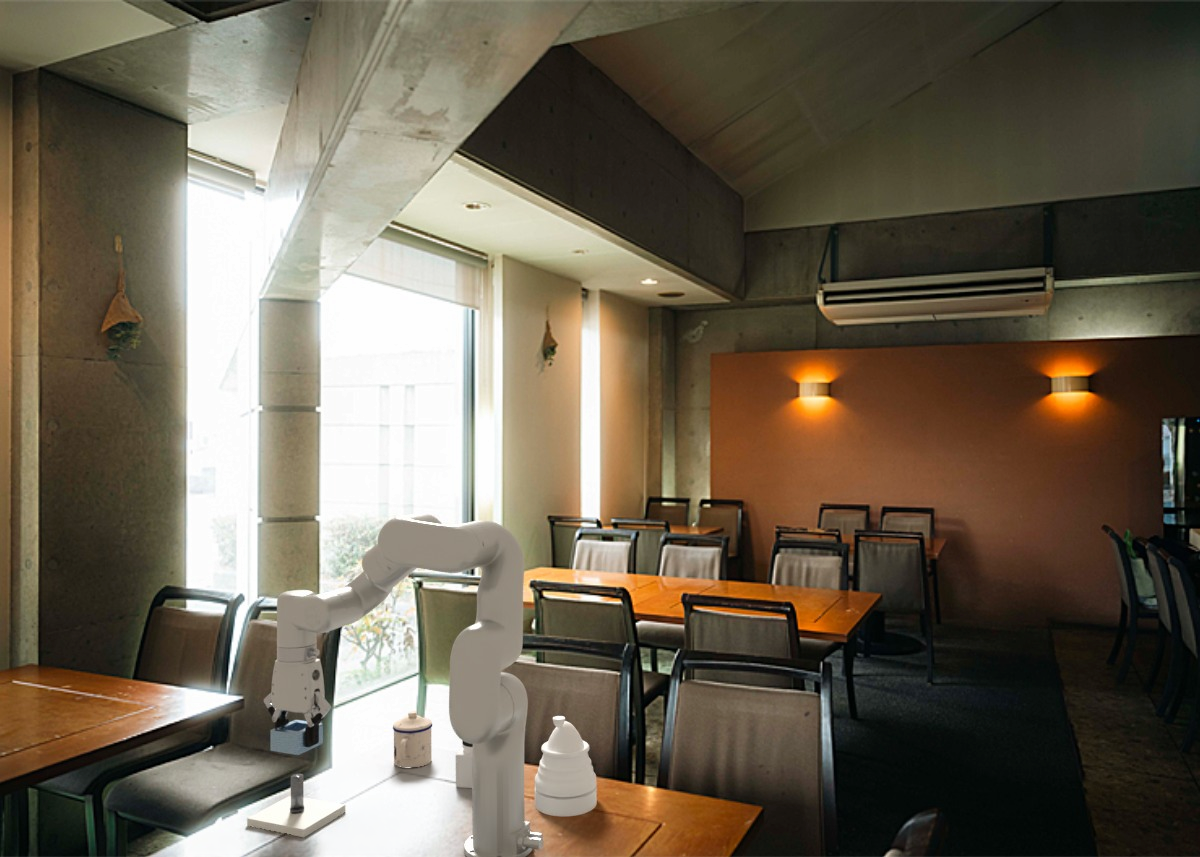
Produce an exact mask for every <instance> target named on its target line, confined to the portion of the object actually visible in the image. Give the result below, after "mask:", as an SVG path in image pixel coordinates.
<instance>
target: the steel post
mask: <svg viewBox="0 0 1200 857" xmlns="http://www.w3.org/2000/svg"><path fill="white" fill-rule="evenodd" d="M290 795H291V808H290V812H291V813H292V814H299V813H302V812H303V811H304V797H305V796H304V774H303V773H294V774H292V775H291V776H290Z"/></svg>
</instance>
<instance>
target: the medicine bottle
mask: <svg viewBox="0 0 1200 857" xmlns="http://www.w3.org/2000/svg"><path fill="white" fill-rule="evenodd" d="M461 743H462V746H461V747H462V748H461V749H460V750H459V751H458V752H457V753H456V754H455V787H456V788H463V789H472V748H473V744H470V743H466V742H464V741H463V740H462V741H461Z"/></svg>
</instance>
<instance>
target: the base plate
mask: <svg viewBox="0 0 1200 857" xmlns="http://www.w3.org/2000/svg"><path fill="white" fill-rule="evenodd" d="M290 808H291V794H290V795H288V796H286V797H284V798H282V799H281V800H278V801H277V802H275V803H273V804H271V805H269V806H268V807H265V808H264V809H262V810H260V811H258V812H256V813H255V814H253V815H250V816H249V817H246V821H247V822H246V826H247V827H250V826H253V827H252V828H255V827H256V829H260V828H262V829H261V830H264V829H266V831H269V830H271V832H274V831H277V832H276V833H279V832H281V833H280V834H284V833H287V834H286V835H289V834H291V835H290V836H295V837H301V838H305V837H307V836H309V835H310V834H312V833H314V832H315V831H317V830H319V829H320V828H322V827H323V826H325V825H327V824H329V823H330V822H333V819H334V820H336V819H337V818H338V816H339V817H340V816H342V815H344V814H345V813H346V804H343V803H336V802H332V801H326V800H322V799H315V798H309V797H305V796H304V811H303V812H302V813H299V814H292V813H291V812H290ZM344 812H345V813H344ZM343 813H344V814H343ZM341 814H342V815H341Z"/></svg>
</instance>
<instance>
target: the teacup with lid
mask: <svg viewBox="0 0 1200 857" xmlns="http://www.w3.org/2000/svg"><path fill="white" fill-rule="evenodd" d="M432 727H433V723H432V720H430V718H427V717H423V716H421V715H419V714H418V713H417V711H409V712H408V714H407V716H405V717H403V718H401V719H399V720H397V721H395V722H394V724H393V725H392V730H393V763H394V765H395V766H396V765H397V766H396V767H398V766H401V767H418V768H421V767H420V766H422V767H425V766H426V765H429V764H430V763H431V761H432ZM424 765H425V766H424Z"/></svg>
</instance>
